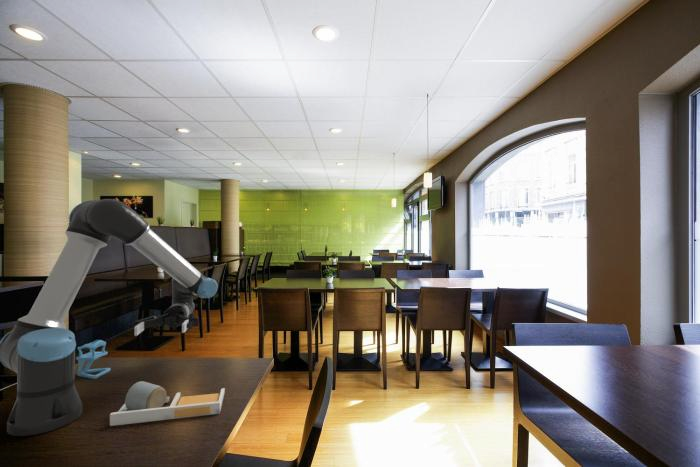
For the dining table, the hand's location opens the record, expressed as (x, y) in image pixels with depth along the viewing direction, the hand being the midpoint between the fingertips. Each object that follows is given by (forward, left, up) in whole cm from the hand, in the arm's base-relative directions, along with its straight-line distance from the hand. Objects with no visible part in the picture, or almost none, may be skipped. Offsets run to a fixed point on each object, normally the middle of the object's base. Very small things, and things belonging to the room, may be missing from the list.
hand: (159, 329), depth 109 cm
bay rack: (+6, -11, -20) cm, 24 cm away
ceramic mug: (0, -10, -20) cm, 22 cm away
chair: (-28, +22, -20) cm, 41 cm away
